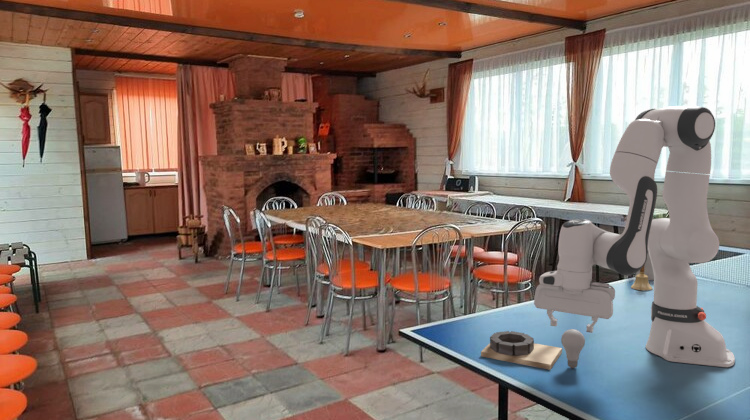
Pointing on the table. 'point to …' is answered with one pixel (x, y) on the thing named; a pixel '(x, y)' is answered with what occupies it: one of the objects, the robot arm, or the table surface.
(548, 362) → the socket board
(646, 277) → the hand bell
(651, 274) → the glass holder
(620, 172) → the robot arm
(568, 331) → the lightbulb
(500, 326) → the table surface
